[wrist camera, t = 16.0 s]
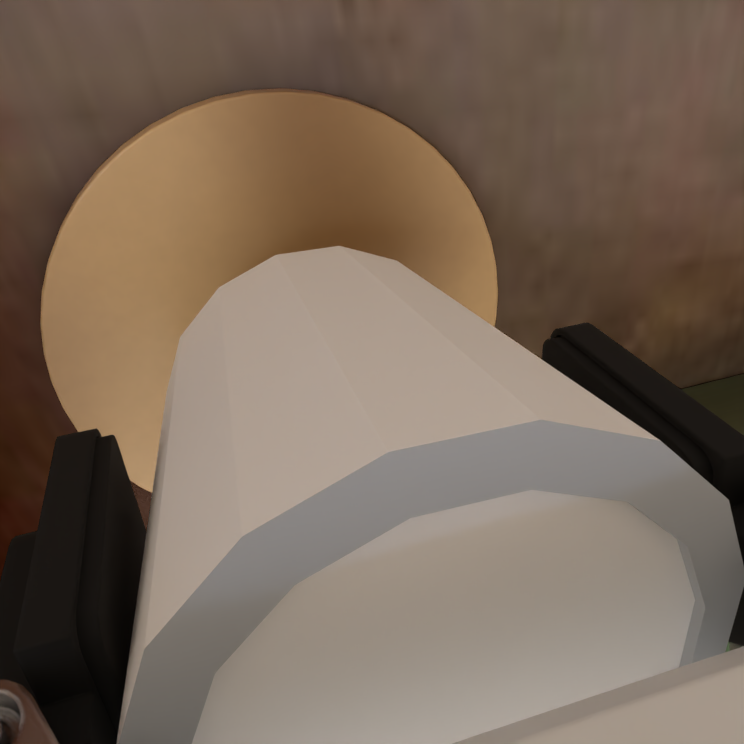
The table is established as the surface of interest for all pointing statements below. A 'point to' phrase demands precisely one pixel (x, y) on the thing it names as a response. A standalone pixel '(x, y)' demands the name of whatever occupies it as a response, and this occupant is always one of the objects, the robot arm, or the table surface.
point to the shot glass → (402, 525)
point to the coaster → (235, 238)
